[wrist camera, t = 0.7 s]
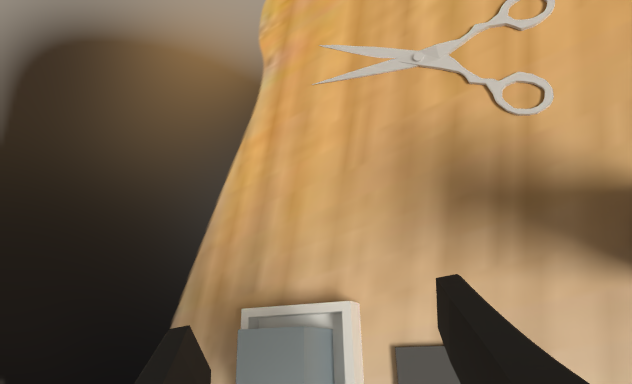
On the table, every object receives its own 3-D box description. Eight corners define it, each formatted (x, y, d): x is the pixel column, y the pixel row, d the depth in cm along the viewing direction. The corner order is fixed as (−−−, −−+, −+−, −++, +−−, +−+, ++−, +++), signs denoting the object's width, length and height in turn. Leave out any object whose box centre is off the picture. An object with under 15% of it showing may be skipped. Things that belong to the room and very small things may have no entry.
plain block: (335, 404, 26) (304, 413, 23) (272, 402, 28) (234, 411, 24) (332, 329, 28) (303, 326, 24) (273, 331, 30) (238, 329, 26)
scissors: (579, 112, 26) (299, 117, 35) (578, 118, 27) (303, 121, 36) (583, -25, 29) (323, 11, 38) (582, -16, 30) (326, 17, 39)
